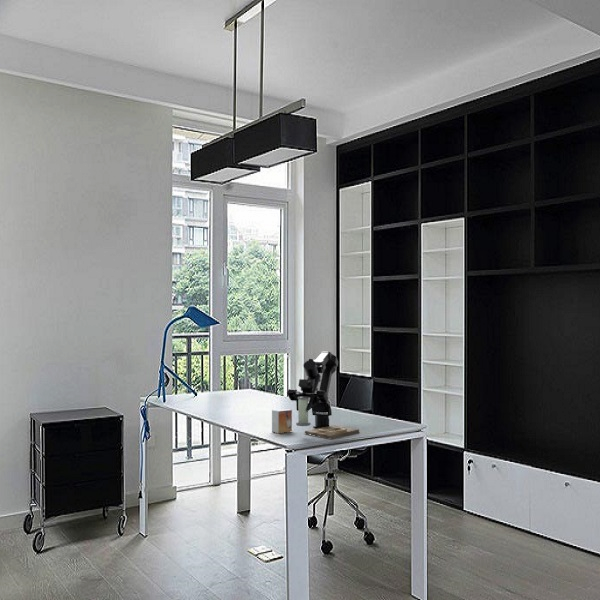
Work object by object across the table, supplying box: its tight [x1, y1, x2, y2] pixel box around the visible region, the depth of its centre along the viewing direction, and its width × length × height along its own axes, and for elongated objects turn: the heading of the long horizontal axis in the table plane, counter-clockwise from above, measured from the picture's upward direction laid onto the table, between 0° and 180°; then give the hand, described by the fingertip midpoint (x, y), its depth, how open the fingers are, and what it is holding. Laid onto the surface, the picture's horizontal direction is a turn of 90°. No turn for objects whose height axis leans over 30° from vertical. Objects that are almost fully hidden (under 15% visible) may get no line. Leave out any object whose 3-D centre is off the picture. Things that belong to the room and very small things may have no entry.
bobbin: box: [295, 396, 311, 427], centre depth 306 cm, size 6×6×12 cm
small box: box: [271, 408, 293, 434], centre depth 320 cm, size 8×6×10 cm
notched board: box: [304, 424, 360, 439], centre depth 315 cm, size 16×20×2 cm
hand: (301, 410), depth 305 cm, fingers closed on bobbin, 4 cm apart
